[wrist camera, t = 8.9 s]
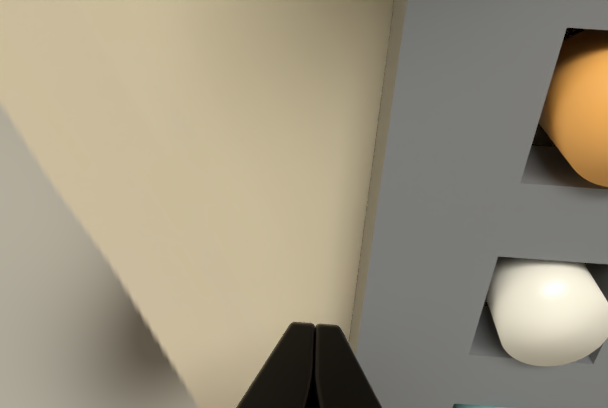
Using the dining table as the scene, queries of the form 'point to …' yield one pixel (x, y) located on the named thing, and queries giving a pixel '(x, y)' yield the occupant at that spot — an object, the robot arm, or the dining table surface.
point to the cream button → (547, 310)
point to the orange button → (580, 105)
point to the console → (471, 205)
